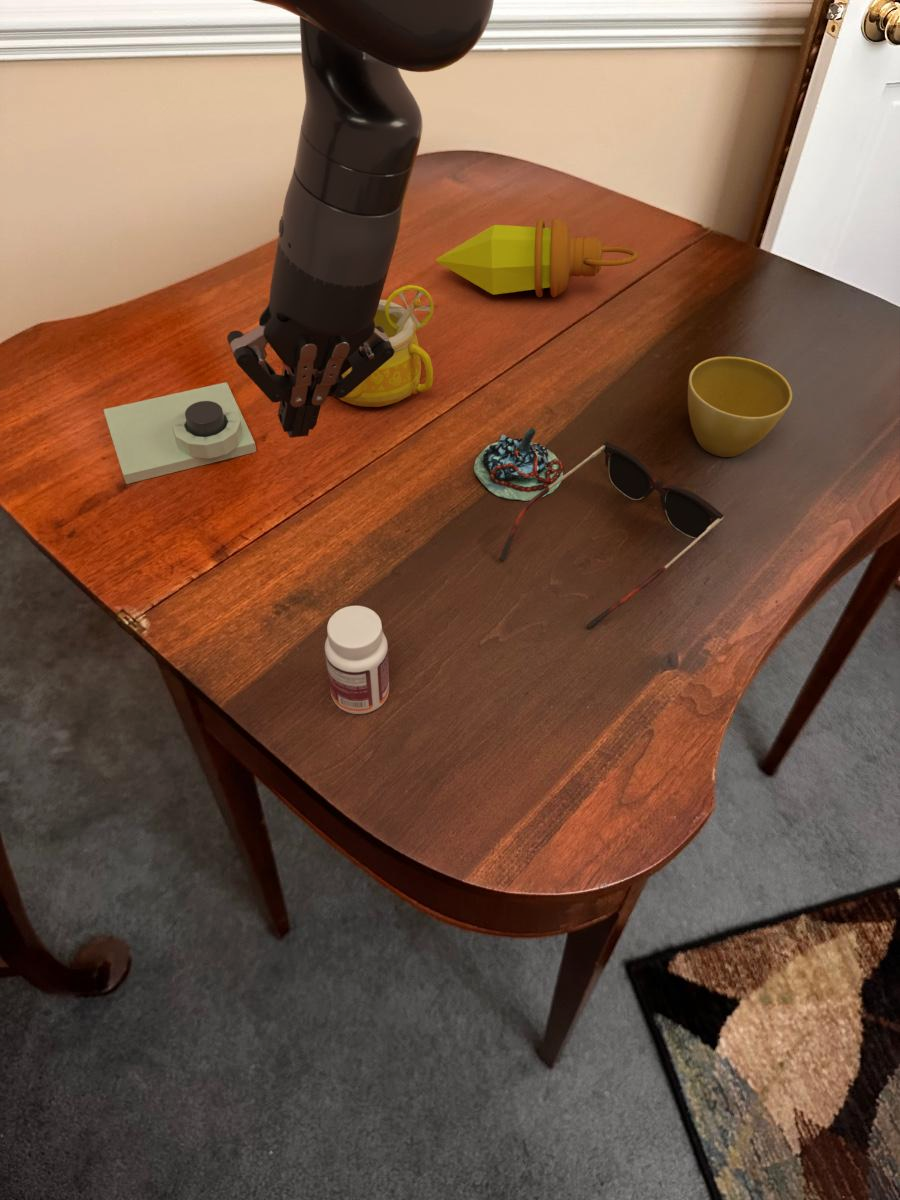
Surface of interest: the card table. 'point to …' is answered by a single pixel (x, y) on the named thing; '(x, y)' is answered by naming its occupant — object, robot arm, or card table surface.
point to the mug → (397, 355)
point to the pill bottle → (357, 660)
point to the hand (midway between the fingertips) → (295, 429)
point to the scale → (174, 434)
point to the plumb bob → (529, 258)
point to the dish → (518, 468)
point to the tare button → (205, 418)
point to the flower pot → (735, 403)
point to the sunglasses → (637, 483)
